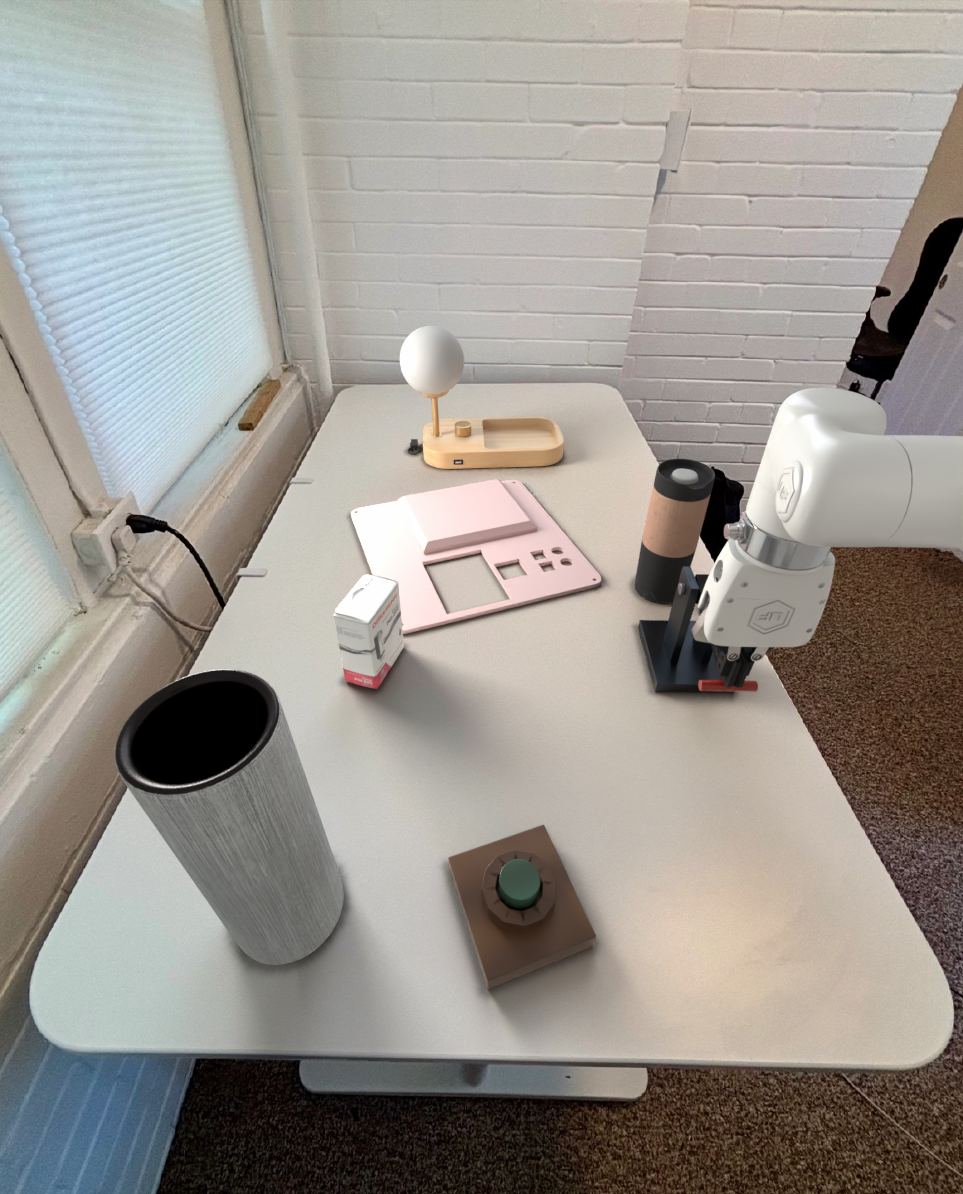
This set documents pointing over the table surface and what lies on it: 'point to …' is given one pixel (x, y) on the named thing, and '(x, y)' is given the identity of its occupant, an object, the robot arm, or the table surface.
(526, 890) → the button
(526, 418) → the lamp
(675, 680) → the bracket
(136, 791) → the vase
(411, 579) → the panel
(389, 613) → the ink box
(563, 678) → the table surface
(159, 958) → the table surface
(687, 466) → the travel mug
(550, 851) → the block
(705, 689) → the lever
